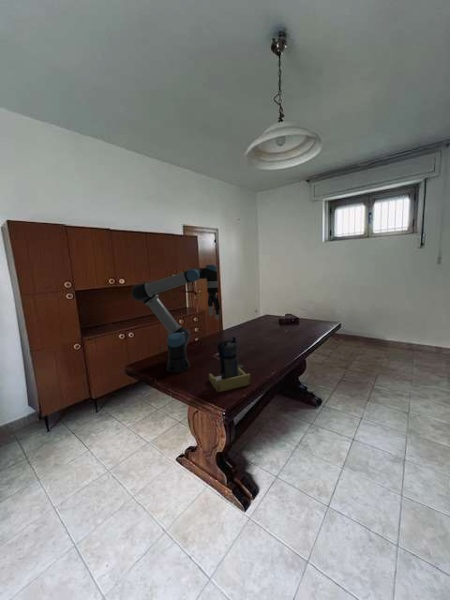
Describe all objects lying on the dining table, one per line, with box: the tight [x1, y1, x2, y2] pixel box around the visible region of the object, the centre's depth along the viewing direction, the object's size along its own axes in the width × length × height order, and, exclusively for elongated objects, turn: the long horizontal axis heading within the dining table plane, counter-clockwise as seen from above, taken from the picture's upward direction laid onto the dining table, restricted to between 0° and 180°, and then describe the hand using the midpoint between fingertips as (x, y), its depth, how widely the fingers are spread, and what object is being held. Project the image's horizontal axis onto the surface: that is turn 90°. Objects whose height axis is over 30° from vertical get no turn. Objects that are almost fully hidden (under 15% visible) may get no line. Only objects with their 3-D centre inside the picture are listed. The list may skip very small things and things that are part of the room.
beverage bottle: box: [217, 336, 239, 380], centre depth 144 cm, size 10×13×25 cm
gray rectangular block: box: [238, 364, 245, 372], centre depth 161 cm, size 6×4×3 cm, turn 113°
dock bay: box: [208, 368, 251, 393], centre depth 146 cm, size 20×16×6 cm
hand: (214, 317), depth 174 cm, fingers open, 13 cm apart
